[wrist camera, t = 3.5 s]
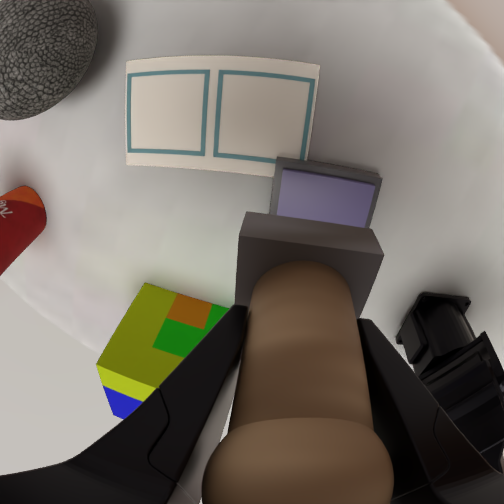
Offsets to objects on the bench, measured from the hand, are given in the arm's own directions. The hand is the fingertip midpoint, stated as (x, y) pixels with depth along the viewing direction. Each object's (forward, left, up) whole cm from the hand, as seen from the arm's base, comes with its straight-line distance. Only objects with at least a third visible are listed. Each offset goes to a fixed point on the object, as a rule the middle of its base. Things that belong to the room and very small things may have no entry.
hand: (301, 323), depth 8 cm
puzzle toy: (+8, +17, -14) cm, 23 cm away
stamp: (0, 0, -2) cm, 2 cm away
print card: (+6, -4, -13) cm, 15 cm away
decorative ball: (+18, -10, -14) cm, 25 cm away
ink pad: (-2, +2, -13) cm, 14 cm away
